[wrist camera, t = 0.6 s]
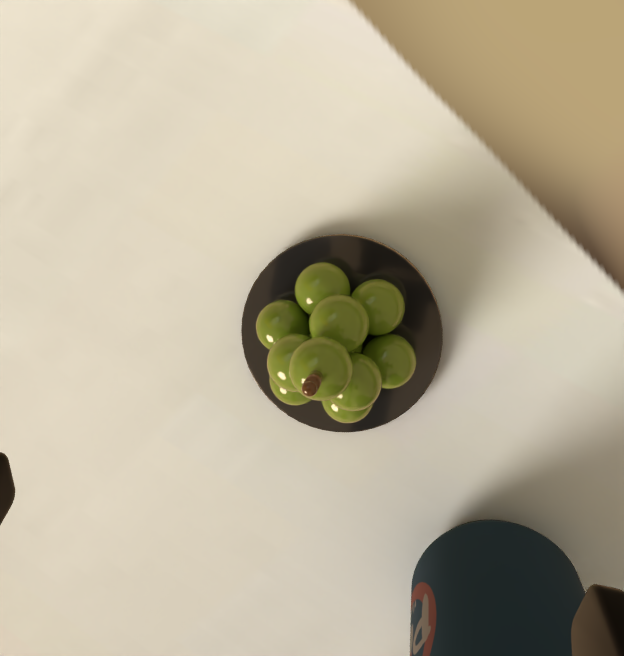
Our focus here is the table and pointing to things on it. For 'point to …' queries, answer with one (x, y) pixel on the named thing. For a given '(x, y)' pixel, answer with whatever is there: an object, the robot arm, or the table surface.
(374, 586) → the table surface
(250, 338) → the grapes
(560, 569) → the soda can
